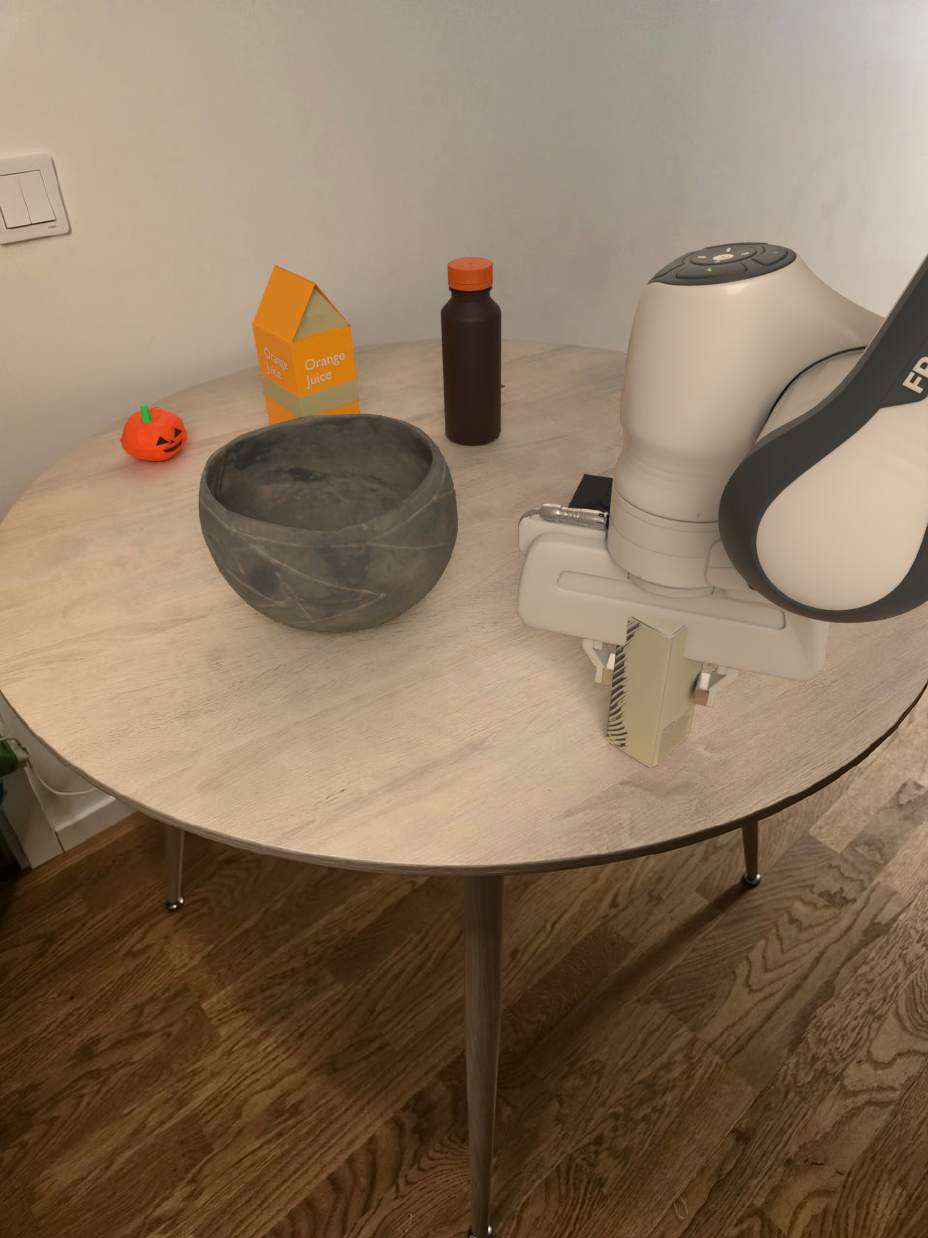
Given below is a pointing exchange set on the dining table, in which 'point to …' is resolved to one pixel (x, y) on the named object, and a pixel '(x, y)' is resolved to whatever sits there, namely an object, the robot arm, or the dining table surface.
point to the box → (652, 690)
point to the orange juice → (303, 351)
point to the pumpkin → (153, 434)
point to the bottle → (471, 354)
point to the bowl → (330, 519)
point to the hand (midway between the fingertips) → (655, 689)
